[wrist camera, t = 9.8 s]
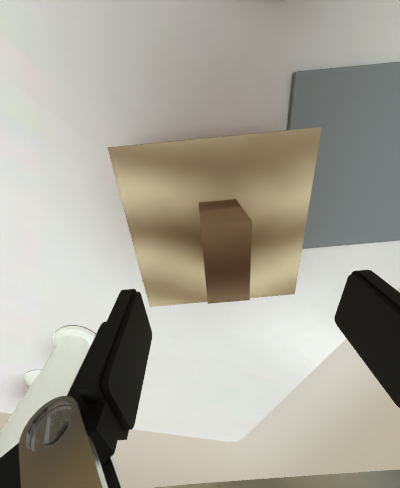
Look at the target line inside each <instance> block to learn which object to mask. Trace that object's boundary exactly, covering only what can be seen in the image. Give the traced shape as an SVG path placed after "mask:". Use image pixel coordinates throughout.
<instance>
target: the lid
mask: <svg viewBox="0 0 400 488" xmlns="http://www.w3.org/2000/svg"><path fill="white" fill-rule="evenodd" d="M321 129H322V127H317V128H307V129H296V130H286V131H275V132H265V133H255V134H244V135H234V136H223V137H213V138H203V139H192V140H182V141H171V142H161V143H150V144H140V145H130V146H119V147H109V148H108V150H109V154H110V158H111V162H112V165H113V169H114V173H115V177H116V181H117V184H118V188H119V192H120V196H121V199H122V203H123V207H124V211H125V215H126V218H127V222H128V226H129V230H130V233H131V237H132V241H133V245H134V249H135V252H136V256H137V260H138V264H139V267H140V271H141V275H142V279H143V283H144V286H145V290H146V294H147V298H148V301H149V305H150V307H152V306H164V305H175V304H187V303H198V302H208V303H220V302H231V301H243V300H250V298H255V297H267V296H278V295H289V294H295V288H296V282H297V276H298V269H299V263H300V257H301V251H302V245H303V239H304V233H305V227H306V221H307V215H308V208H309V202H310V196H311V190H312V184H313V178H314V172H315V166H316V160H317V154H318V147H319V141H320V135H321Z"/></svg>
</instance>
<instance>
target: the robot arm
mask: <svg viewBox="0 0 400 488" xmlns="http://www.w3.org/2000/svg"><path fill="white" fill-rule="evenodd" d="M335 322H336V324H337V326H338V327H339V329H340V330H341V331H342V333H343V334H344V335H345V337H346V338H347V339H348V341H349V342H350V343H351V345H352V346H353V347H354V349H355V350H356V351H357V353H358V354H359V356H360V357H361V358H362V360H363V361H364V362H365V363H366V365H367V366H368V368H369V369H370V370H371V371H372V373H373V374H374V376H375V377H376V378H377V380H378V381H379V382H380V384H381V385H382V386H383V388H384V389H385V390H386V392H387V393H388V394H389V396H390V397H391V398H392V400H393V401H394V403H395V404H396V405H397V406H398V407H399V408H400V293H399V292H398V291H397V290H396V289H394V288H393V287H392V286H390V285H389V284H388V283H387V282H385V281H384V280H383V279H381V278H380V277H379V276H378V275H376V274H375V273H374V272H372V271H370V270H361V271H354V272H352V274H351V275H349V277H348V279H347V282H346V285H345V288H344V291H343V294H342V297H341V300H340V303H339V306H338V309H337V311H336V314H335ZM151 340H152V331H151V327H150V324H149V321H148V317H147V314H146V310H145V307H144V304H143V300H142V297H141V294H140V292H136V290H135V289H129V290H122V291H121V292H120V294H119V296H118V298H117V300H116V303H115V305H114V307H113V309H112V311H111V313H110V316H109V318H108V320H107V322H103V323H102V324H101V326H100V328H99V330H98V332H97V334H96V336H95V338H94V340H93V342H92V344H91V346H90V348H89V350H88V353H87V355H86V357H85V359H84V361H83V363H82V365H81V367H80V369H79V371H78V373H77V375H76V377H75V380H74V382H73V384H72V386H71V388H70V390H69V392H68V394H67V396H60V397H57V398H54V399H52V400H51V401H49V402H47V403H46V404H44V405H43V406H42V407H41V408H40V409H38V410H37V411H36V413H35V414H34V415H33V416H32V417H31V418H30V420H29V421H28V423H27V424H26V426H25V427H24V429H23V432H22V434H21V437H20V441H19V443H18V444H16V445H15V446H14V447H13V448H12V449H10V450H9V451H8V452H7V453H5V454H4V455H3V456H2V457H0V488H124V486H123V483H122V481H121V478H120V475H119V472H118V470H117V467H116V464H115V462H114V459H113V456H112V455H113V454H114V452H115V448H116V444H117V440H126V439H127V436H128V432H129V429H133V427H134V424H135V419H136V414H137V410H138V405H139V400H140V395H141V390H142V385H143V380H144V375H145V370H146V365H147V360H148V355H149V350H150V345H151ZM157 488H400V470H388V471H372V472H358V473H343V474H328V475H314V476H299V477H284V478H270V479H256V480H242V481H229V482H215V483H201V484H188V485H178V486H167V487H157Z"/></svg>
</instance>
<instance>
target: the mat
mask: <svg viewBox="0 0 400 488" xmlns="http://www.w3.org/2000/svg"><path fill="white" fill-rule="evenodd" d="M317 127H322V129H321V135H320V141H319V147H318V154H317V160H316V166H315V172H314V178H313V184H312V190H311V196H310V202H309V208H308V215H307V221H306V227H305V233H304V239H303V245H302V249H306V248H318V247H329V246H341V245H352V244H364V243H375V242H387V241H398V240H400V62H393V63H383V64H372V65H361V66H351V67H340V68H330V69H319V70H309V71H298V72H295V73H293V78H292V88H291V98H290V108H289V118H288V128H287V130H296V129H307V128H317Z"/></svg>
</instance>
